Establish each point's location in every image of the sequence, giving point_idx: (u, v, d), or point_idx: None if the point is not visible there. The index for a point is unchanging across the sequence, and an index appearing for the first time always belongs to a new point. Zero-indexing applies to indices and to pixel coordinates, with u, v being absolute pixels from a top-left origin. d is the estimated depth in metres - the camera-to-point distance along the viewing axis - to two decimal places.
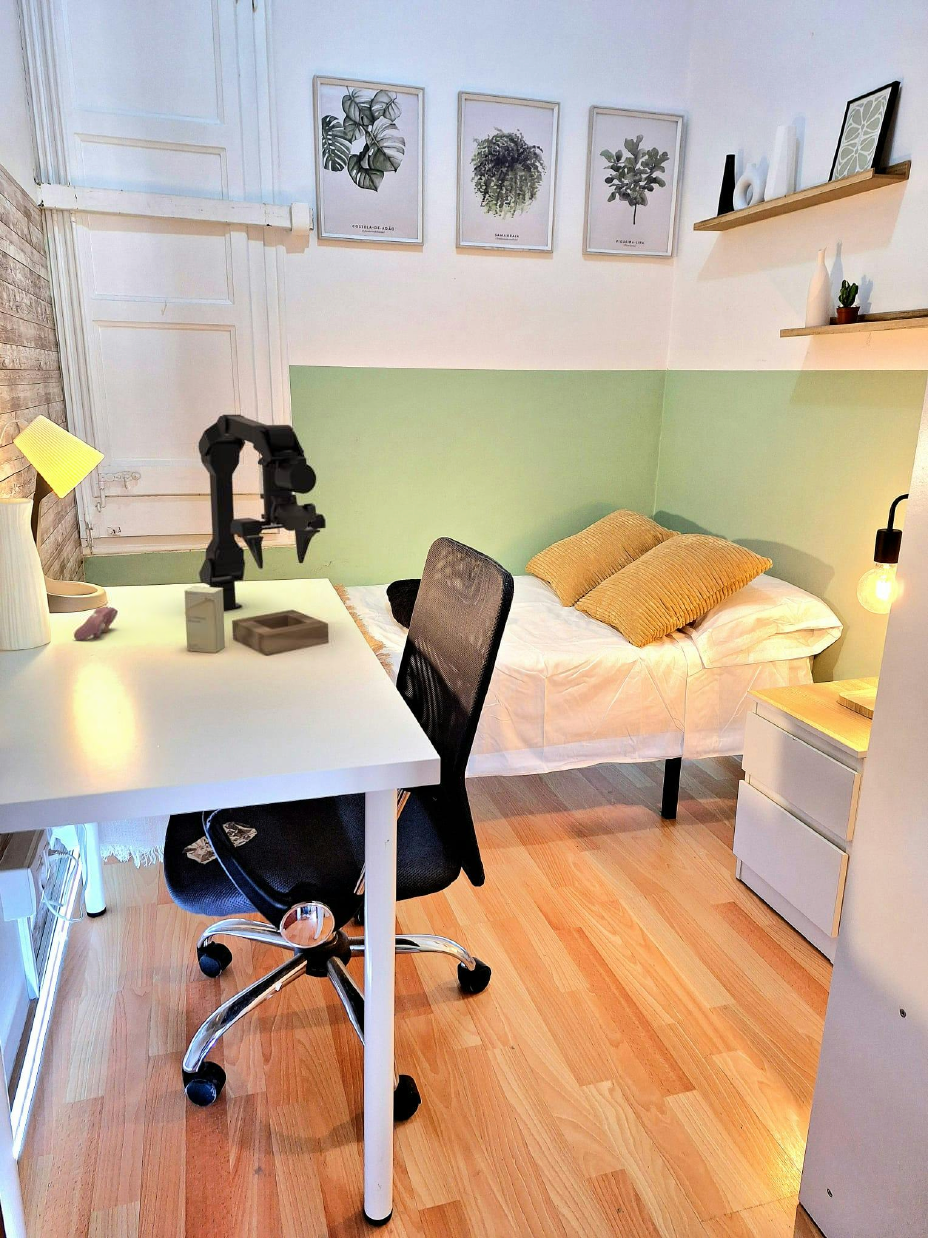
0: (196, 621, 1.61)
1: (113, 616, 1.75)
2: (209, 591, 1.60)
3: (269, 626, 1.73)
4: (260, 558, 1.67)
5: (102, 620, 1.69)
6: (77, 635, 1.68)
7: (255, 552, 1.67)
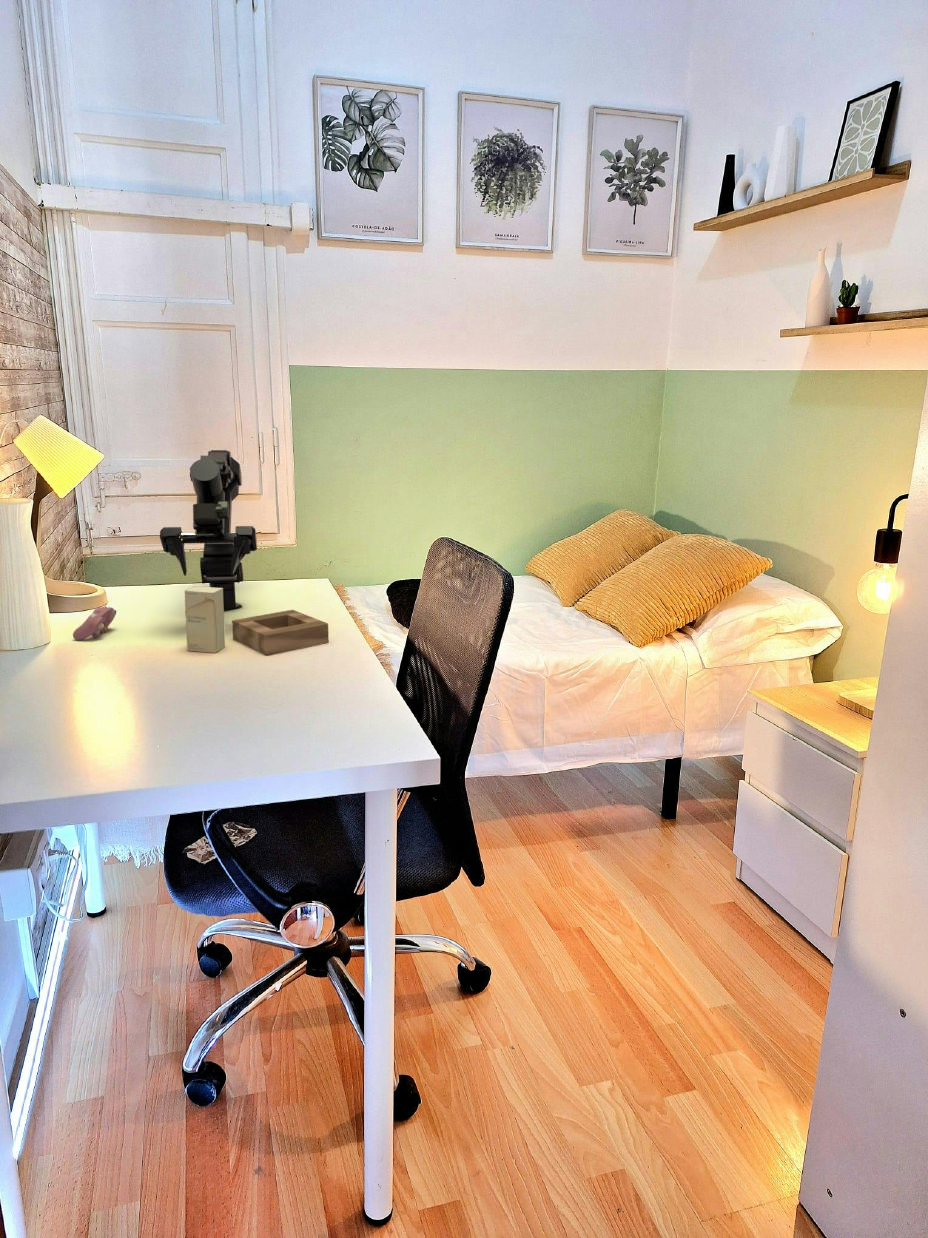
0: (196, 621, 1.61)
1: (112, 616, 1.75)
2: (209, 591, 1.60)
3: (269, 626, 1.73)
4: (182, 562, 1.68)
5: (101, 620, 1.69)
6: (76, 635, 1.68)
7: (178, 558, 1.69)
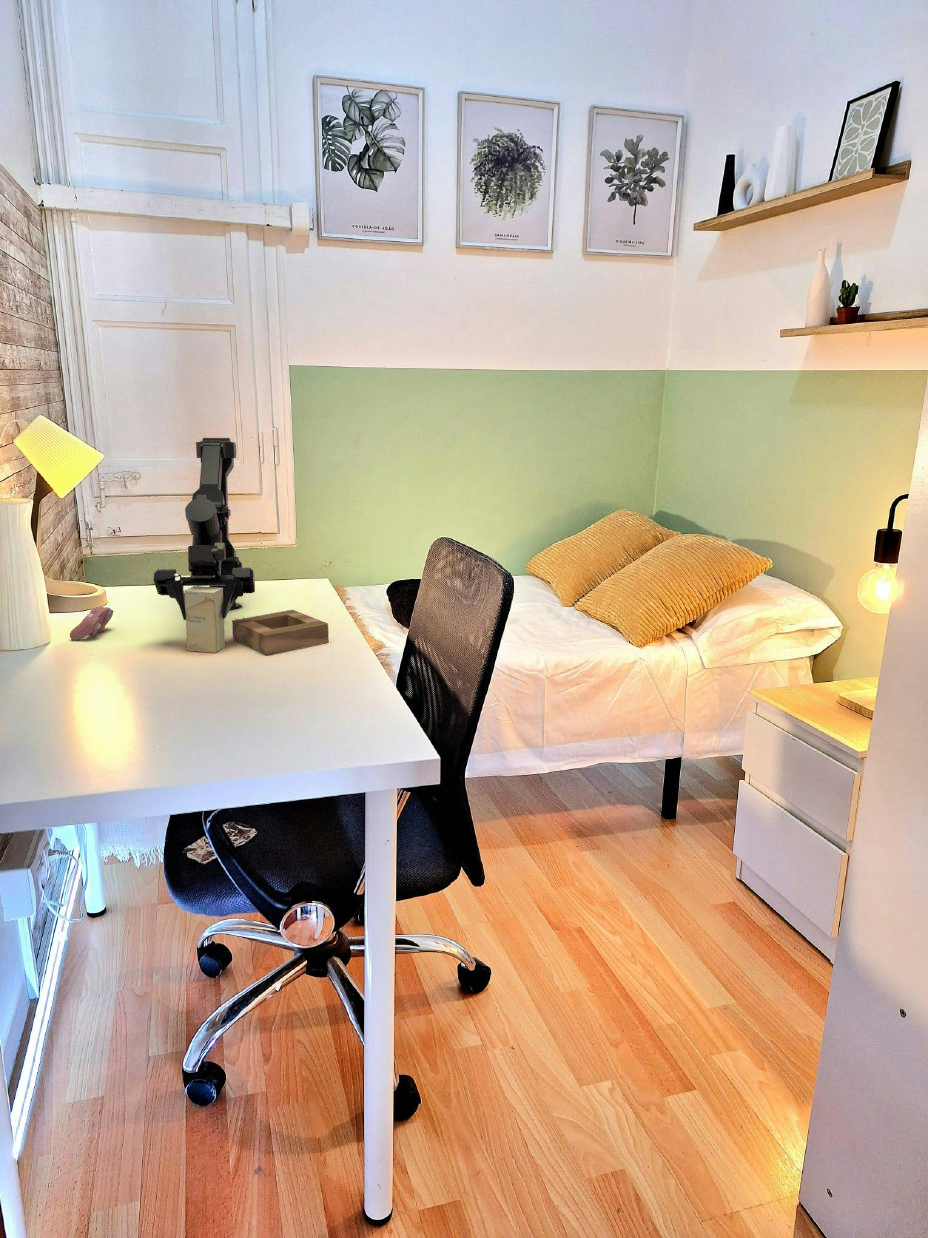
0: (196, 621, 1.61)
1: (109, 616, 1.75)
2: (209, 591, 1.60)
3: (269, 626, 1.73)
4: (182, 606, 1.62)
5: (98, 620, 1.69)
6: (73, 635, 1.68)
7: (178, 602, 1.62)
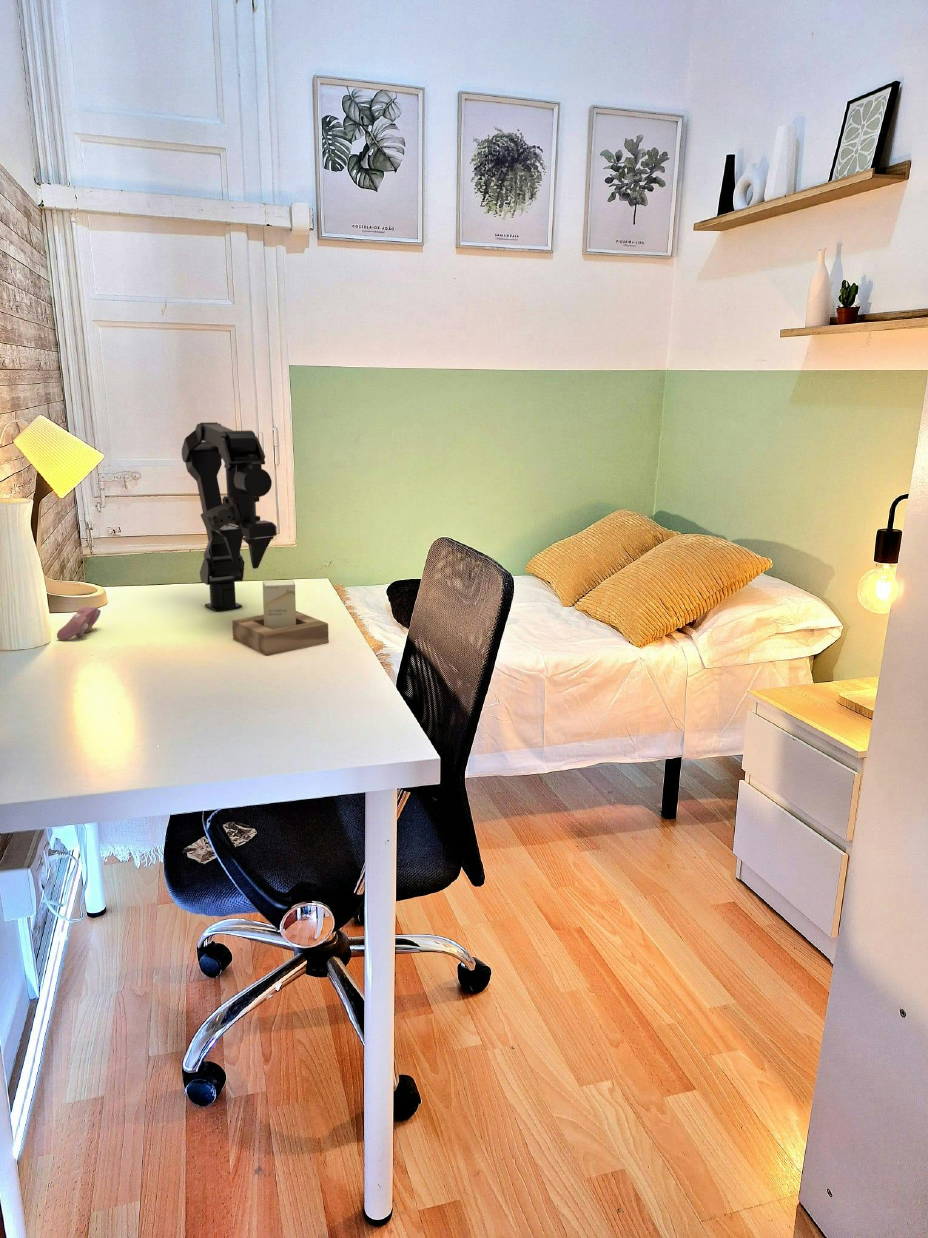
0: (277, 614, 1.68)
1: (96, 616, 1.75)
2: (288, 583, 1.68)
3: None
4: (229, 551, 1.82)
5: (85, 620, 1.69)
6: (60, 635, 1.68)
7: None
